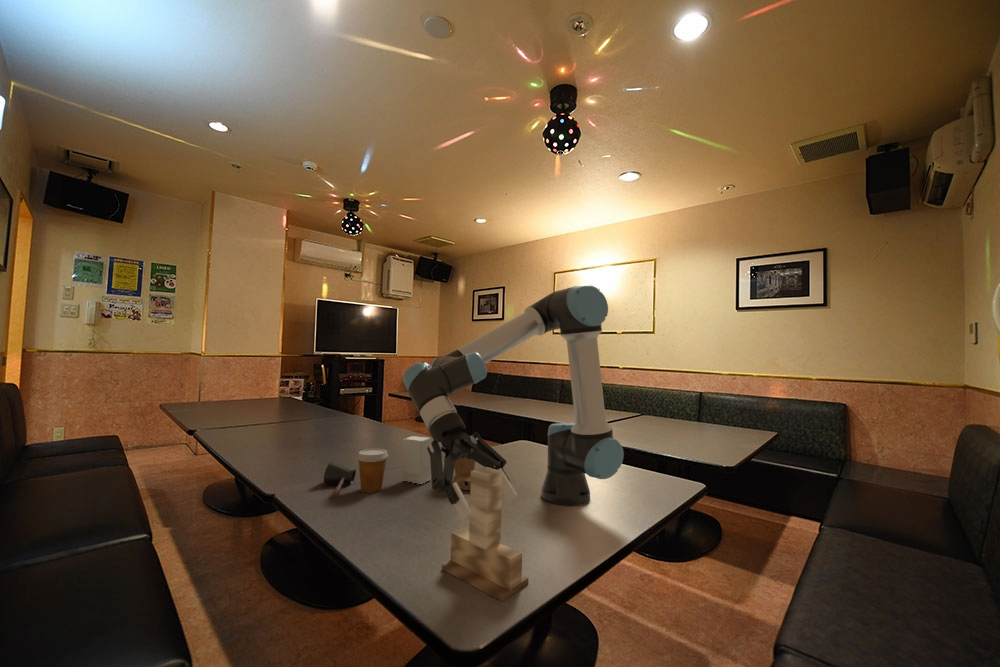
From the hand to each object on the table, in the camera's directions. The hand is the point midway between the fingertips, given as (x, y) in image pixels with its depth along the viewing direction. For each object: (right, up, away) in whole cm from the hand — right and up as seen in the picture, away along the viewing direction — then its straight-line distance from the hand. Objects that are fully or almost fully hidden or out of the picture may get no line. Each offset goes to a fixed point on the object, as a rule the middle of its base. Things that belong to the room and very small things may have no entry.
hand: (491, 507), depth 79 cm
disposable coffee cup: (-40, -16, +49) cm, 65 cm away
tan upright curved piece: (-10, -17, +57) cm, 60 cm away
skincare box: (-27, -17, +58) cm, 66 cm away
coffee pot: (-52, -16, +49) cm, 73 cm away
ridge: (-2, -14, 0) cm, 14 cm away
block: (-1, -7, +1) cm, 7 cm away
